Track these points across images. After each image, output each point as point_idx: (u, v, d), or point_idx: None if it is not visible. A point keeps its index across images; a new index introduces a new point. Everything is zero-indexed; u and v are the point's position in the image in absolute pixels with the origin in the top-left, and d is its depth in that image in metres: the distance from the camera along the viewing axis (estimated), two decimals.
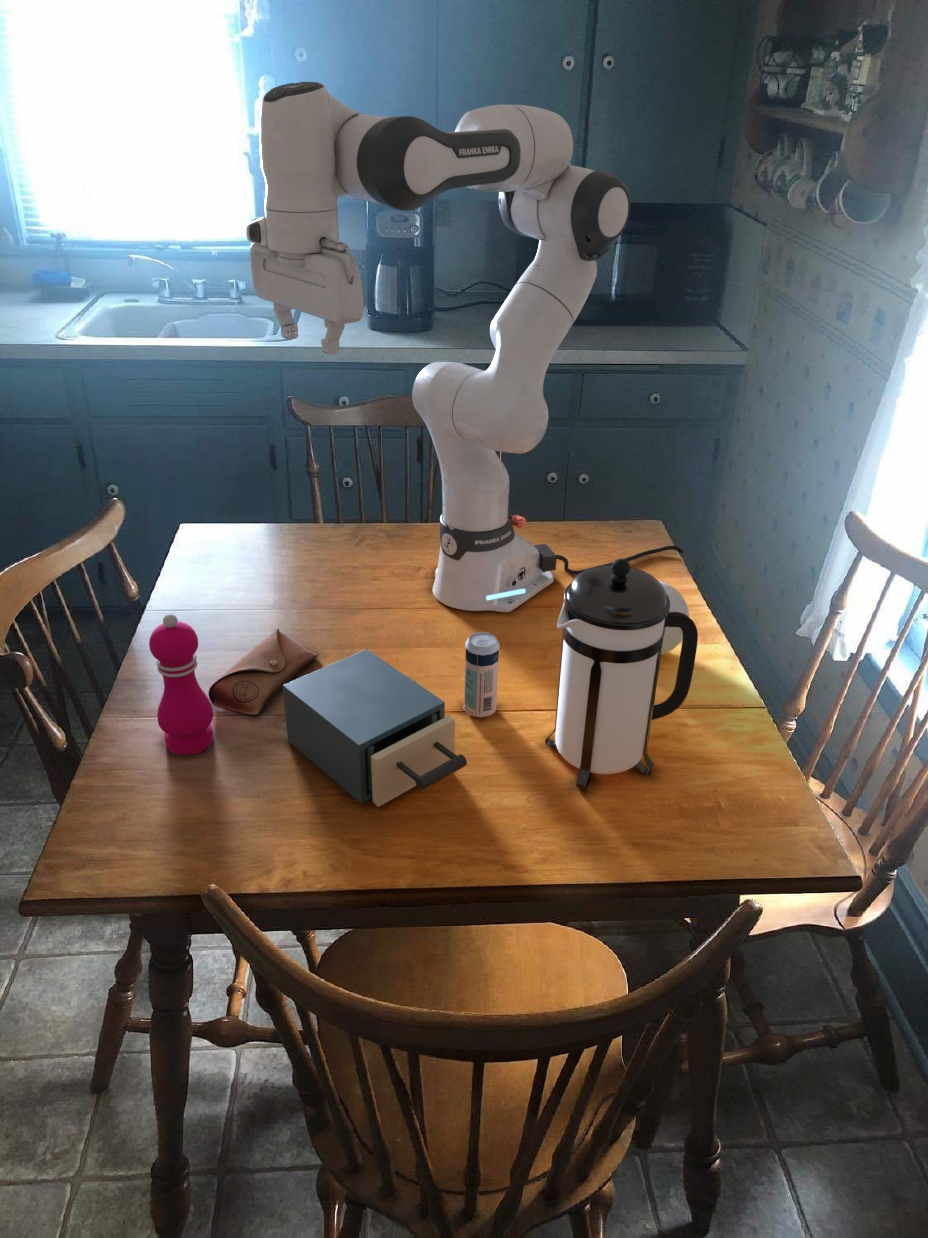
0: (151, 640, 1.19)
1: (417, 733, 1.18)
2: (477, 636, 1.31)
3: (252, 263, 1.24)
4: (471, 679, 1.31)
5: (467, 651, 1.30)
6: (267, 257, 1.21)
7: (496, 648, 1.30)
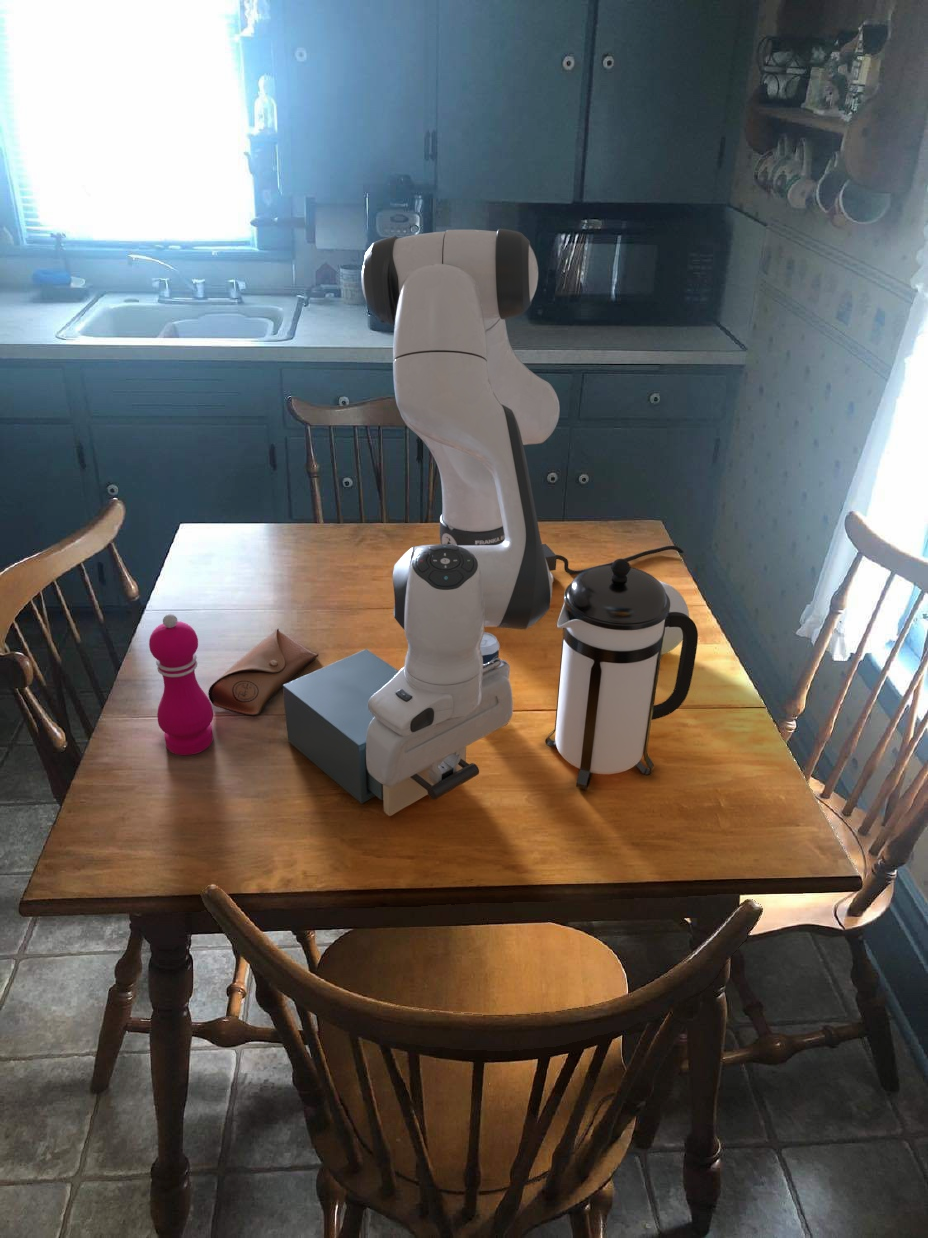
0: (151, 640, 1.19)
1: None
2: None
3: (396, 758, 1.04)
4: None
5: None
6: (416, 736, 1.05)
7: (496, 648, 1.30)
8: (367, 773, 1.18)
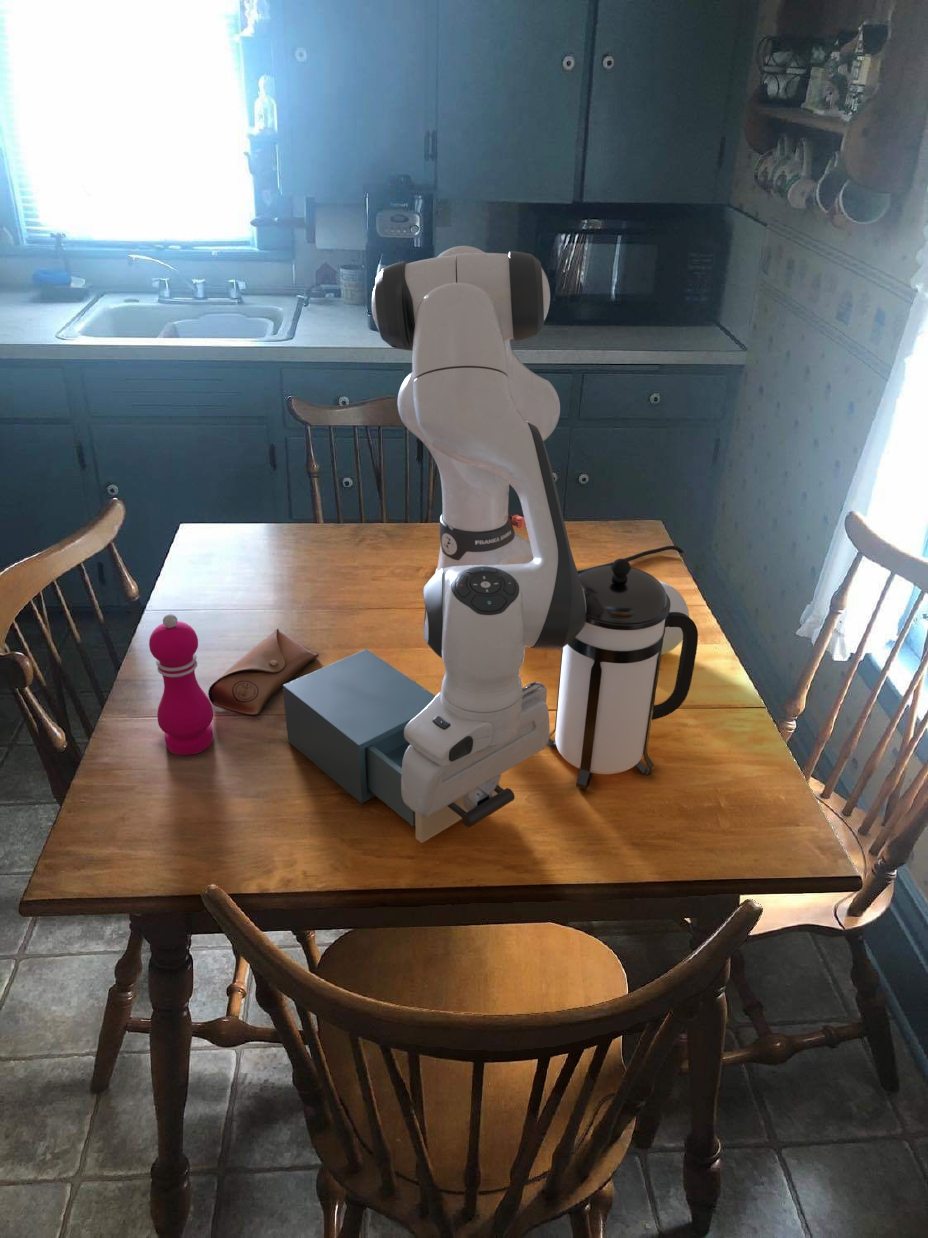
0: (151, 640, 1.19)
1: None
2: None
3: (433, 788, 1.00)
4: None
5: None
6: None
7: None
8: (398, 798, 1.14)
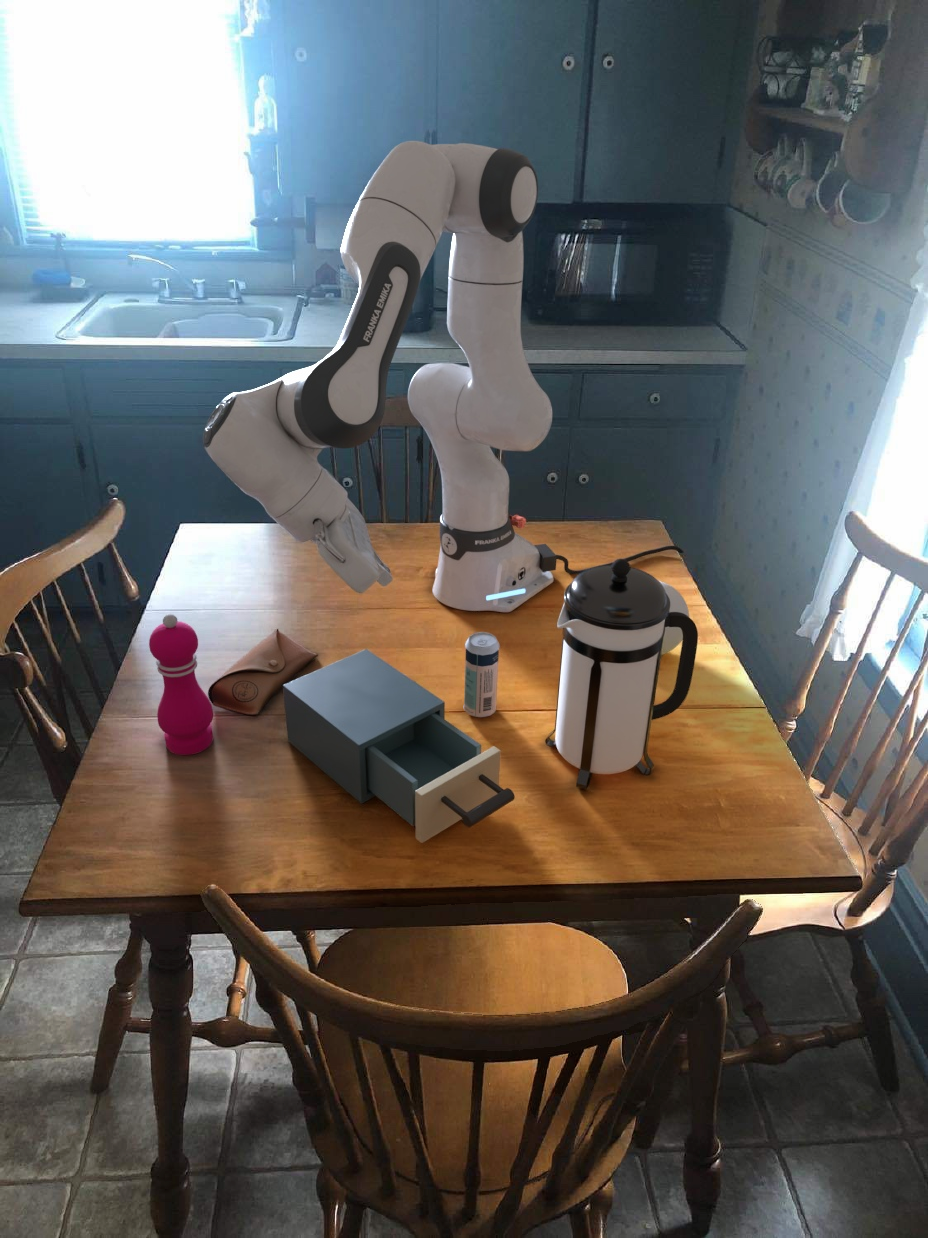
0: (151, 640, 1.19)
1: (462, 766, 1.13)
2: (477, 636, 1.31)
3: None
4: (471, 679, 1.31)
5: (467, 651, 1.30)
6: None
7: (496, 648, 1.30)
8: (398, 798, 1.14)
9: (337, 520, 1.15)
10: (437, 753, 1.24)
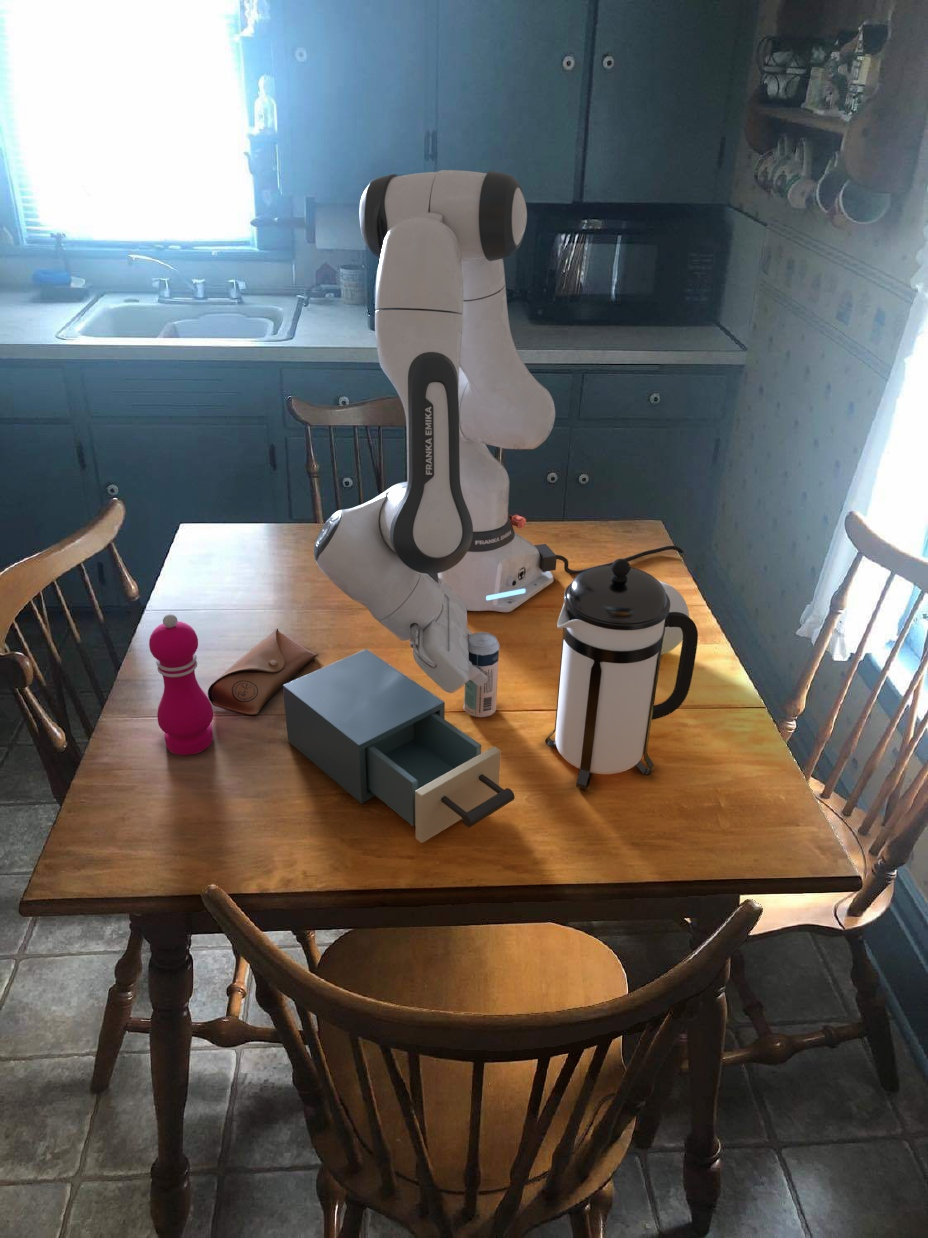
0: (151, 640, 1.19)
1: (462, 766, 1.13)
2: (477, 636, 1.31)
3: None
4: None
5: None
6: None
7: (496, 648, 1.30)
8: (398, 798, 1.14)
9: (433, 623, 1.25)
10: (437, 753, 1.24)
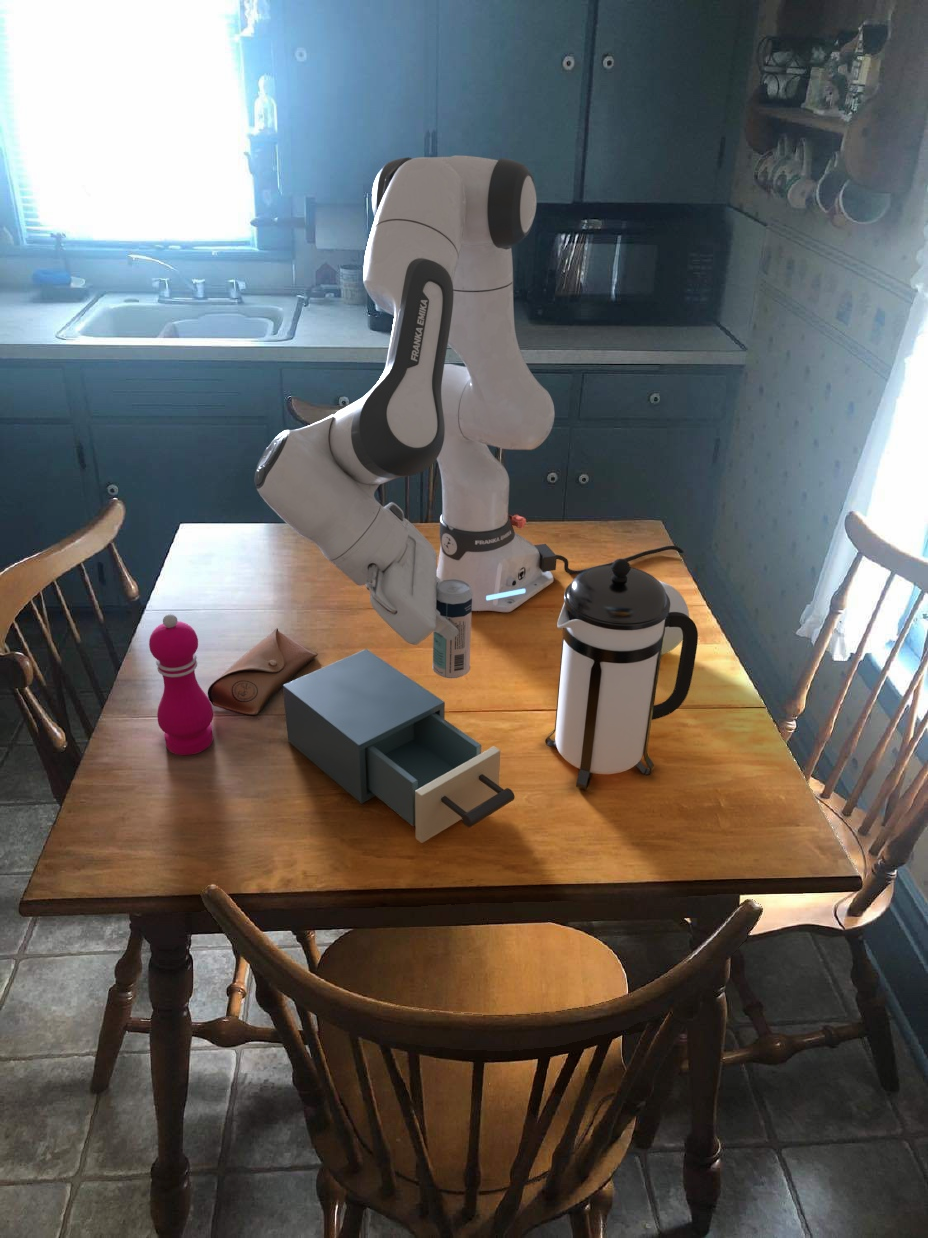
0: (151, 640, 1.19)
1: (462, 766, 1.13)
2: (447, 583, 1.14)
3: None
4: None
5: None
6: None
7: (469, 596, 1.12)
8: (398, 798, 1.14)
9: (394, 564, 1.07)
10: (437, 753, 1.24)
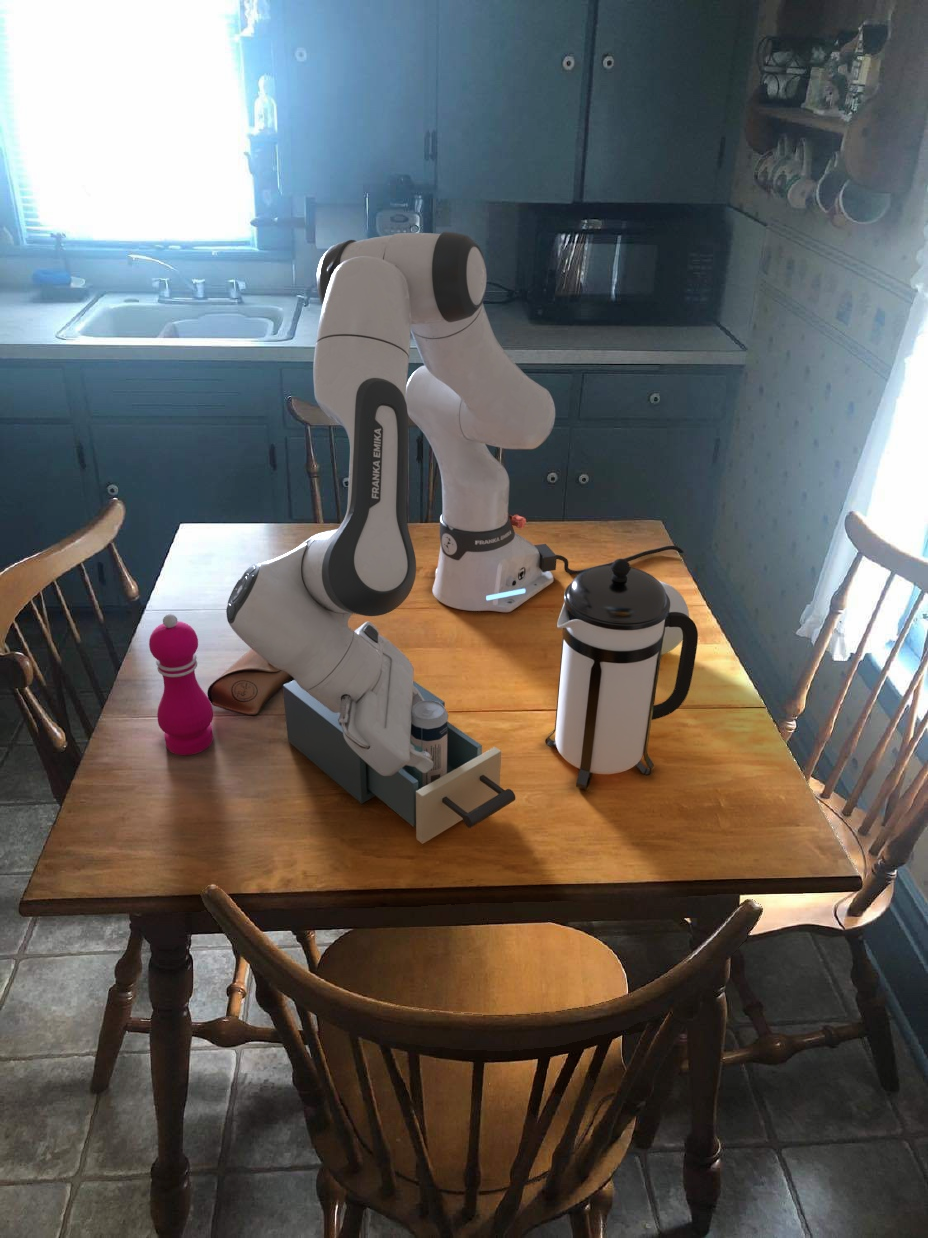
0: (151, 640, 1.19)
1: (463, 766, 1.13)
2: (423, 705, 1.13)
3: None
4: None
5: None
6: None
7: (444, 720, 1.12)
8: (399, 799, 1.14)
9: (367, 694, 1.07)
10: None
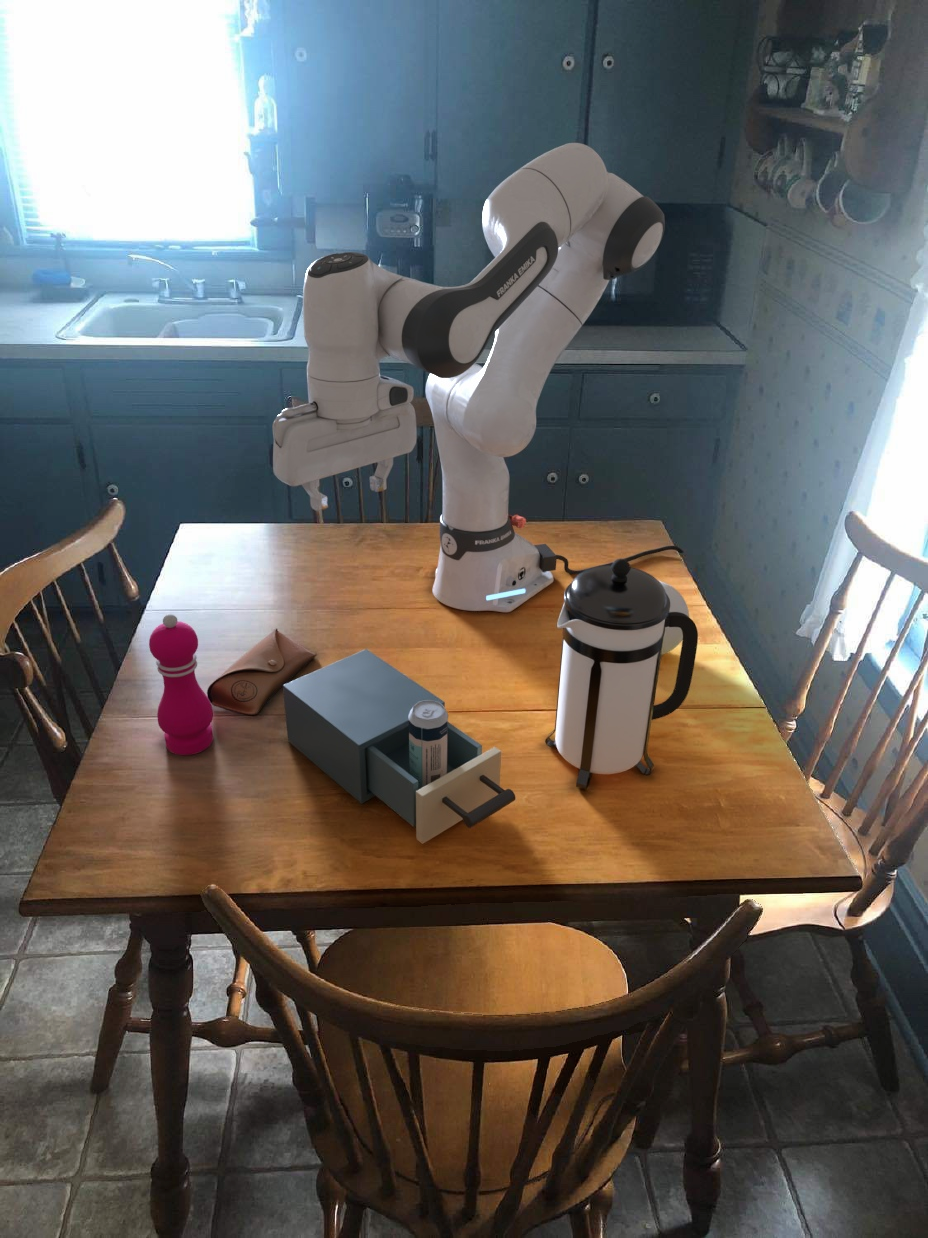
0: (151, 640, 1.19)
1: (463, 766, 1.13)
2: (423, 705, 1.13)
3: None
4: (416, 755, 1.14)
5: (410, 723, 1.12)
6: None
7: (444, 720, 1.12)
8: (399, 799, 1.14)
9: (329, 421, 1.14)
10: None
